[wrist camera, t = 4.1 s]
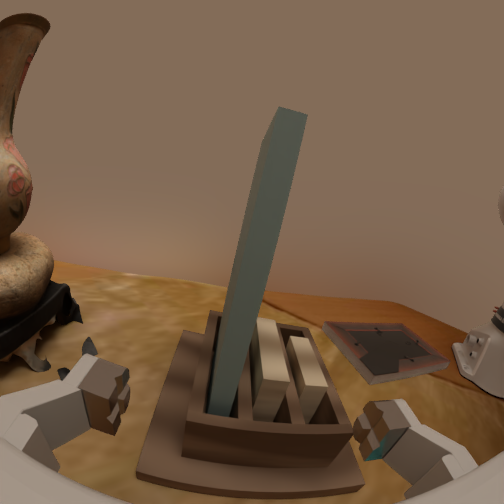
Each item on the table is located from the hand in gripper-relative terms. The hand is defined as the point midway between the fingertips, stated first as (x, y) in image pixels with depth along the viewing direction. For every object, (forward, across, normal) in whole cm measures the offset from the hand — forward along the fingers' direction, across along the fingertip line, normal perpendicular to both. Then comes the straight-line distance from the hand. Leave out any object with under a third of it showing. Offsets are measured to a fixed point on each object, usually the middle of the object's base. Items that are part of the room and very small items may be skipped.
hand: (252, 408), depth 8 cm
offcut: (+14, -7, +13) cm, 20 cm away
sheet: (+14, 0, +13) cm, 19 cm away
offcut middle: (+14, -4, +13) cm, 19 cm away
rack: (+14, -4, +14) cm, 20 cm away
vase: (+14, +27, +15) cm, 33 cm away
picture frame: (+30, -30, +15) cm, 45 cm away
